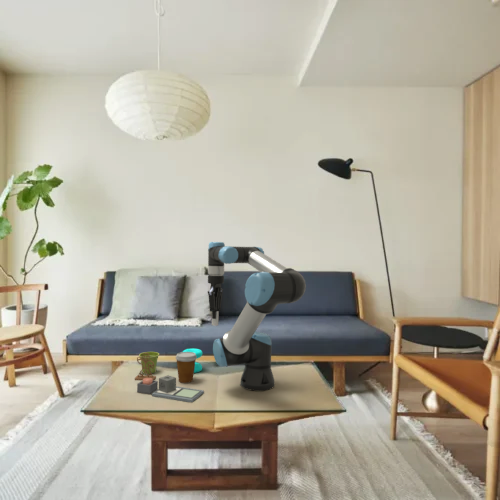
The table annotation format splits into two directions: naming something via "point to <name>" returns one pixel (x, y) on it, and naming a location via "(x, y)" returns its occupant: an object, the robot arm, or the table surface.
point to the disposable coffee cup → (186, 366)
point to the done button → (147, 381)
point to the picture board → (180, 394)
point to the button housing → (147, 387)
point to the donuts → (198, 353)
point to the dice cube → (167, 384)
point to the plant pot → (152, 357)
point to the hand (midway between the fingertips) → (215, 325)
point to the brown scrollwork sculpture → (145, 368)
